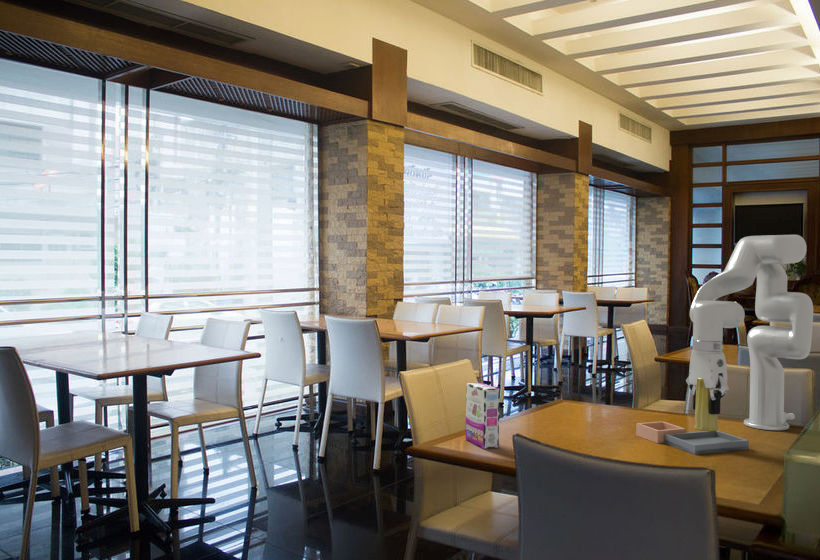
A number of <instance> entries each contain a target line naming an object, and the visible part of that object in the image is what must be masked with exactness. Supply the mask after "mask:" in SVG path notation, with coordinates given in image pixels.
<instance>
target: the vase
mask: <svg viewBox="0 0 820 560" xmlns="http://www.w3.org/2000/svg"><path fill="white" fill-rule="evenodd" d="M714 392H715V394H716V393H717V392H716V391H714ZM710 400H712V399H711V395H710V391H709V389H708V388H706V387H705V385H704V380H703V379H701V378H697V385H696V407H695V411H694V412H695V413H694V425H693V428H694V429H695V430H698V431H719V430H718V429H719V426H718V423H719V422H718V414H710V413H709V401H710Z"/></svg>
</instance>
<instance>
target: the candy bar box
mask: <svg viewBox="0 0 820 560" xmlns="http://www.w3.org/2000/svg"><path fill="white" fill-rule="evenodd" d="M465 391H466V392H465V393H466V394H465V396H466V397H465V441H467V442H469V443H471V444H472V445H473V444H474V445H475V446H477V447H479V448H481V449H483V450H489V449H496V448H497V449H498V448H499V447H500V441H499V437H500V391H501V389H500V388H499V387H495V386H493V385H489V384H485V383H483V382H468V383H466V387H465Z"/></svg>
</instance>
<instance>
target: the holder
mask: <svg viewBox="0 0 820 560" xmlns="http://www.w3.org/2000/svg"><path fill="white" fill-rule="evenodd" d="M635 424H636V425H635V426H636V427H635V428H636V429H635V431H636V432H635V435H636V436H637V437H640V438H643V439H645V440H648V441H651V442H653V443H656V444H665V443H664V440H665V434H675V433H687V432H686V430H687V429H686V428H684V427H682V426H678V425H675V424H672V423H669V422H666V421H651V422H650V421H649V422H638V423H635Z"/></svg>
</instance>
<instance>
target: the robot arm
mask: <svg viewBox="0 0 820 560" xmlns="http://www.w3.org/2000/svg"><path fill="white" fill-rule="evenodd" d="M806 254H807V244H806V240H805V239H804V238H803V237H802V236H801V235H799V234H776V235H775V234H774V235H773V234H771V235H769V234H767V235H749V236H744V237H742V238H740V239H739V241H738V242H737V243H736V245H735V246H734V250H733V251H732V253H731V255H730V258H729V260H728V262H727V263H726V266H725V268H724V270H723V271H722V272H720V273H719V274H717V275H715V276H713V277H712V278H710V279H709V280H707V281H706V282H705V283H704V284H702V285H701V286H700V288H698V290H697V292H696V293H695V296H694V298H693V300H692V302H691V305H690V309H689V318H690V320H691V322H692V350H691V355H690V361H689V366H688V367H689V370H688V376H687V378H686V379H685V383H686V384H687V385H688V387H689V389H690V391H691V392H690V393H691V395H692V409H693V410H695V407H696V385H697V378H701V379H703V380H704V385H705V387H706V388H708V389H709V391H710V395H711V399H712V400H710V401H709V413H710V414H717V415H720V414H721V401H723V397H724V396H725V395H726V394H727V393H728V392H729V391H730V387H729V386H728V367H727V360H726V356H725V353H724V352H723V349H724V345H723V341H724V340H723V336H724V333H723V332H724V331H723V330H724V329H723V328H725V329H734V328H737V327H740V325H742V323H744V319H745V316H746V315H745V310H744V308H743V305H741V304H740V303H738V302H736V301H735V302H734V301H728V300H727V301H726V300H724V301H723V300H717V299H719V298H722V297H723V296H727V295H730V294H733V293H737V292H740V291H743V290H745V289H747V288H750V287H751V286H752V285H753V283H754V282H755V279H756V289H755V290H756V292H755V302H754V304H755V305H754V308H755V309H754V311H755V316H756V317H757V319H758V320H761V321H764V322H769V323H771V322H773V323H784V324H785V323H786V324H791V326H792V327H786V326H775V325H757V326H754V327H752V328H751V329H750V330H749V331H748V333H747V337H746V339H747V340H746V342H747V347H748V353H749V354H748V355H749V365H750V366H749V367H750V368H749V374H750V375H749V418H748V417H747V418H745V419H744V420H743V424H744V425H745V426H747V427H749V428H753V429H759V430H765V431H766V430H767V431H785V430H786V431H787V430H789V429H790V424H789V423H788V422H787V421H788V420H794V419H796V417H795V414H794V413H793V412H790V413H789V412H788V413H787V412H786V411H785V409H784V408H785V407H784V406H785V370H784V367H783V365H782V364H781V362H780V360H779V359H778V358H781V359H782V358H783V359H791V360H803V359H806V358H807V357H808V356H809V355H810V353H811V348H812V338H813V337H812V336H813V325H814V324H813V322H814V306H813V305H814V303H813V300H812V299H811V297H810V296H809V295H808V294H806V293H804V292H797V291H796V292H795V291H793V292H791V291H788V275H787V272H786V271H785V270H784V268H783V267H782V266H781V265H786V264H787V265H788V264H795V263H800V262H801V261H802V260H803V259H804V258H805V256H806ZM714 391H716V392H717V393H716V394H715V392H714Z"/></svg>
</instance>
